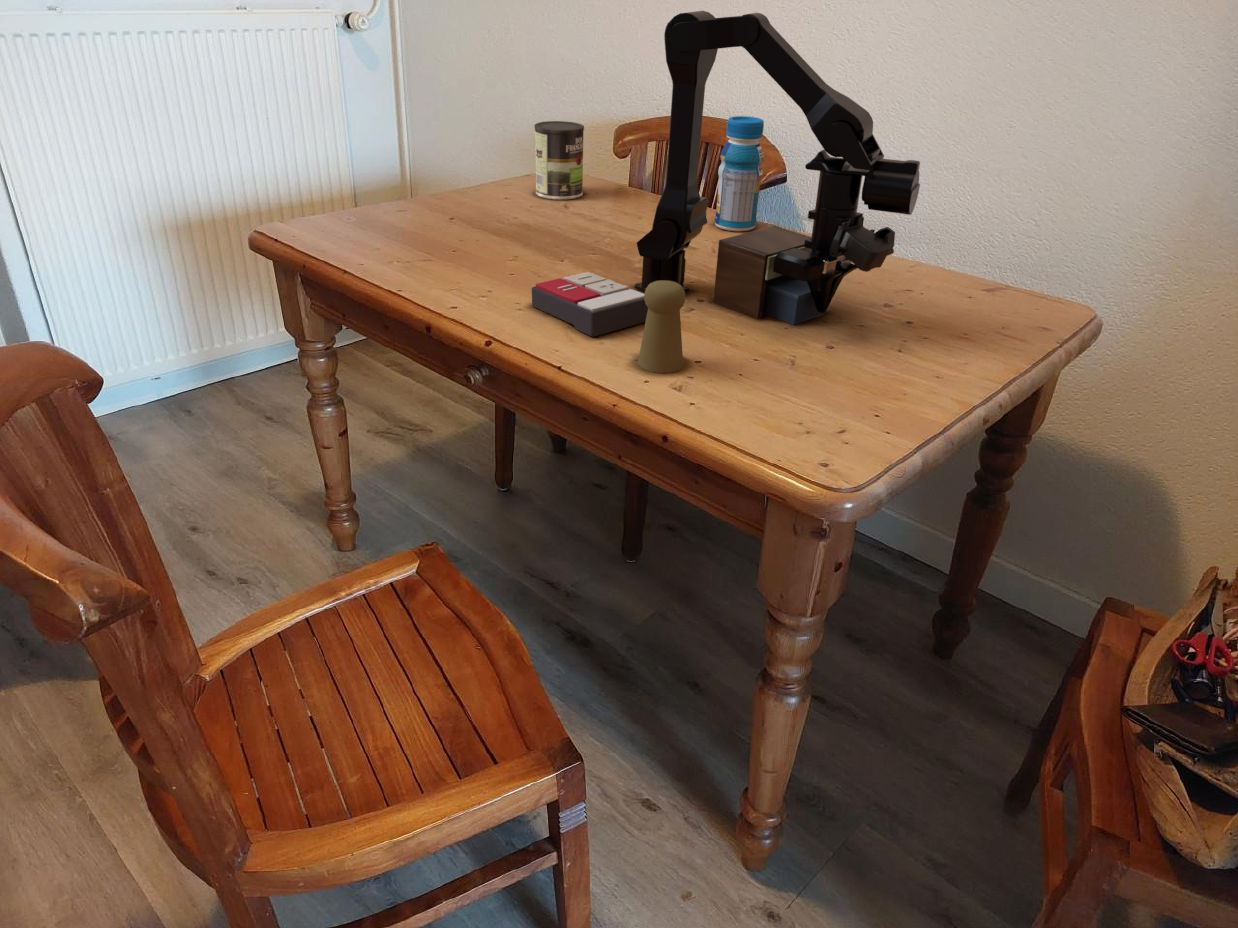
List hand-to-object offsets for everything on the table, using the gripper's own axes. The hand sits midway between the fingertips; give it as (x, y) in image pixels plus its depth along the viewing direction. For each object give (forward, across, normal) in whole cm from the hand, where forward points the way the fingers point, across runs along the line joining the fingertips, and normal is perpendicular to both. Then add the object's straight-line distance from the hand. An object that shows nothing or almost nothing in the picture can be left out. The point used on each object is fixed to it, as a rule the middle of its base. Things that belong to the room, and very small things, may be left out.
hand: (821, 311), depth 129 cm
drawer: (-5, 0, +9) cm, 11 cm away
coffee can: (0, +15, +80) cm, 82 cm away
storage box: (+2, 0, +8) cm, 8 cm away
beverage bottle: (+1, +28, +42) cm, 50 cm away
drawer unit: (+2, 0, +11) cm, 11 cm away
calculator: (+1, -25, +23) cm, 34 cm away
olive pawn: (+2, -29, +4) cm, 29 cm away
